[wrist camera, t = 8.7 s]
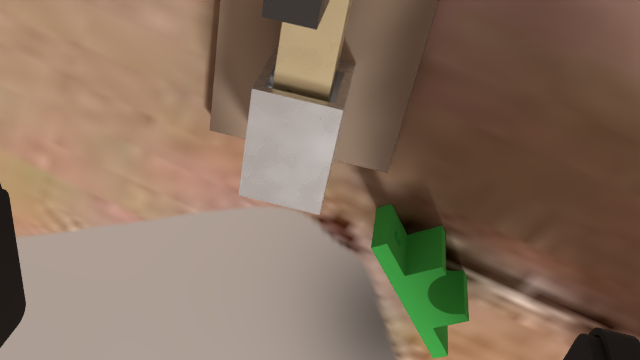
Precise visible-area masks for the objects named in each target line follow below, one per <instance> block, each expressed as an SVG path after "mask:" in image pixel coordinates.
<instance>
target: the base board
mask: <svg viewBox="0 0 640 360" xmlns="http://www.w3.org/2000/svg"><path fill="white" fill-rule="evenodd" d="M438 2H439V0H352V4H351V9H350V13H349V18H348V23H347V27H346V32H345V37H344V41H343V46H342V51H341V55H340V60H344V61H348V62H352V63H356V66H355V70H354V74H353V79H352V83H351V87H350V92H349V96H348V100H347V105H346V109H345V113H344V118H343V122H342V126H341V131H340V135H339V139H338V144H337V148H336V152H335V157H334V160H335V161H339V162H344V163H348V164H352V165H356V166H360V167H364V168H369V169H373V170H377V171H381V172H385V173H387V172H388V169H389V166H390V162H391V159H392V156H393V152H394V149H395V145H396V142H397V139H398V135H399V132H400V129H401V125H402V122H403V119H404V115H405V112H406V109H407V105H408V102H409V99H410V95H411V92H412V89H413V85H414V82H415V79H416V75H417V72H418V69H419V65H420V62H421V58H422V55H423V52H424V48H425V45H426V42H427V38H428V35H429V32H430V28H431V25H432V22H433V18H434V15H435V12H436V8H437V5H438ZM262 8H263V0H220V11H219V24H218V36H217V48H216V60H215V72H214V84H213V96H212V108H211V120H210V130H211V131H215V132H219V133H223V134H227V135H231V136H235V137H240V138H244V139H246V132H247V124H248V116H249V108H250V100H251V92H252V88H253V86H254V84H255V82H256V81H257V79H258V77H259V75H260V74H261V72H262V70H263V68H264V67H265V65H266V63H267V61H268V59H269V58H270V56H271V54H272V52H273V51H274V49H275V47H276V45H279V40H280V33H281V27H282V22H281V21H277V20H272V19H268V18H264V17H261V16H262Z"/></svg>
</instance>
